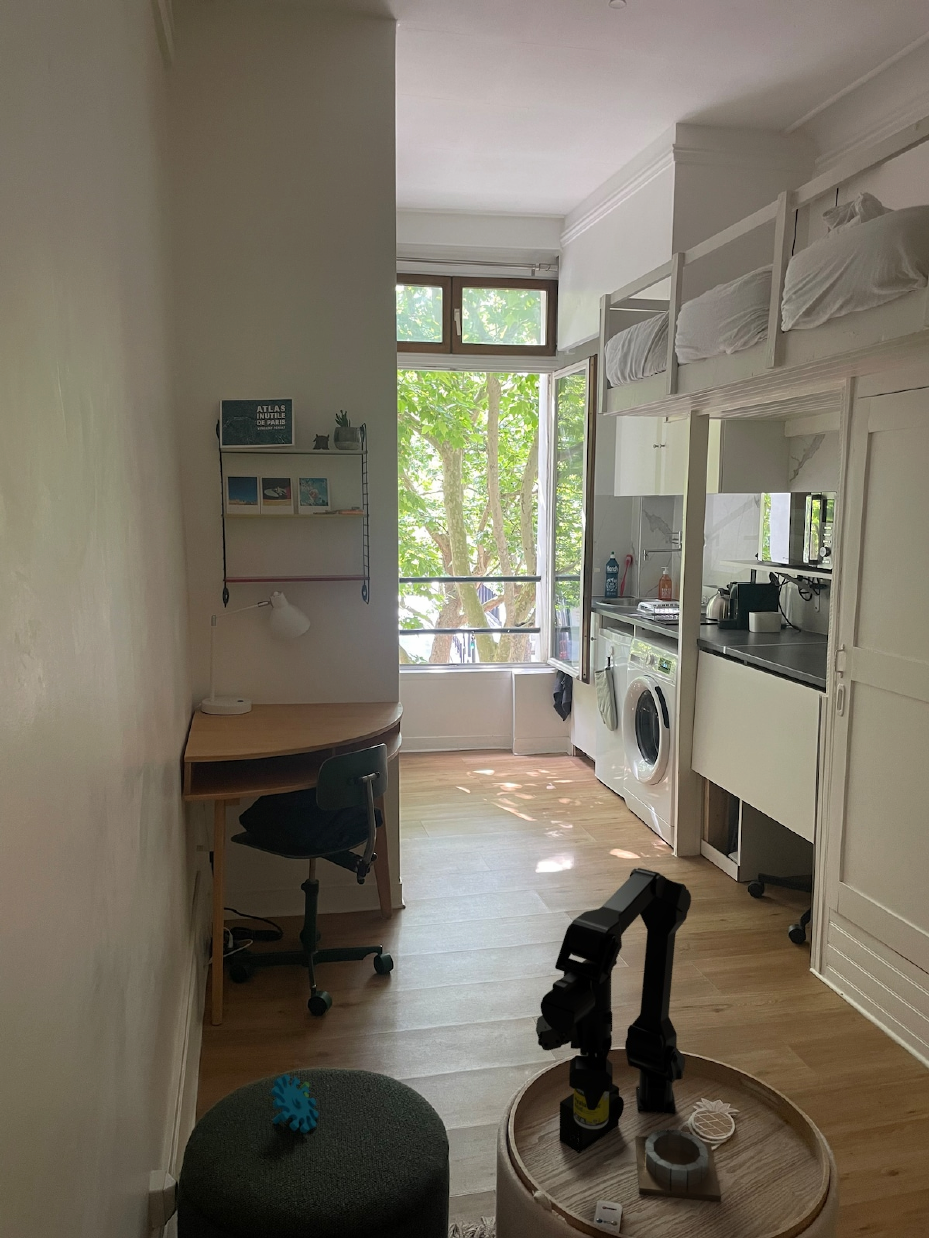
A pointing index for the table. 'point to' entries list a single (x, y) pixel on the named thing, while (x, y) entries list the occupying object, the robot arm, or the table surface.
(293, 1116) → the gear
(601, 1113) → the supplement bottle
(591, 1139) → the digital camera
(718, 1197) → the collar holder
